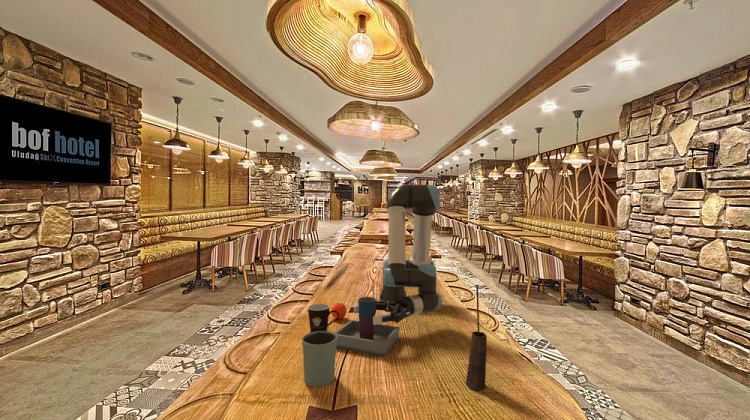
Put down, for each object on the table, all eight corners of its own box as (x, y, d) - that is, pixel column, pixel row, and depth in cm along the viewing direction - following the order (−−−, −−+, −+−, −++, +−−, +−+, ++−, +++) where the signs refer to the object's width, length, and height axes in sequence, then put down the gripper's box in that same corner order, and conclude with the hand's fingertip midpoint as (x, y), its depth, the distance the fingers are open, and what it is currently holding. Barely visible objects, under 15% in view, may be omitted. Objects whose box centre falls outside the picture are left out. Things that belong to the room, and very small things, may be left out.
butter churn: (500, 399, 81) (501, 292, 81) (462, 395, 83) (463, 290, 82) (492, 380, 90) (493, 284, 90) (458, 377, 92) (460, 282, 92)
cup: (367, 334, 119) (367, 295, 119) (379, 340, 115) (380, 299, 115) (353, 339, 115) (354, 298, 115) (366, 345, 110) (366, 303, 110)
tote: (351, 330, 126) (351, 319, 126) (398, 338, 118) (399, 327, 118) (331, 346, 111) (331, 334, 111) (384, 357, 103) (384, 343, 103)
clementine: (346, 315, 144) (346, 299, 144) (350, 320, 138) (350, 304, 138) (329, 316, 142) (329, 301, 142) (332, 322, 135) (332, 305, 135)
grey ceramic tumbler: (305, 391, 84) (305, 347, 84) (298, 373, 93) (298, 333, 93) (341, 383, 88) (341, 341, 88) (331, 366, 97) (331, 328, 97)
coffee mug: (303, 333, 122) (303, 308, 122) (316, 326, 130) (317, 302, 130) (327, 339, 117) (327, 313, 117) (340, 331, 125) (340, 306, 125)
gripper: (430, 325, 115) (382, 337, 103) (390, 306, 136) (347, 315, 124) (430, 304, 115) (382, 314, 103) (391, 289, 136) (347, 296, 124)
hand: (363, 315), depth 114 cm, fingers open, 13 cm apart
